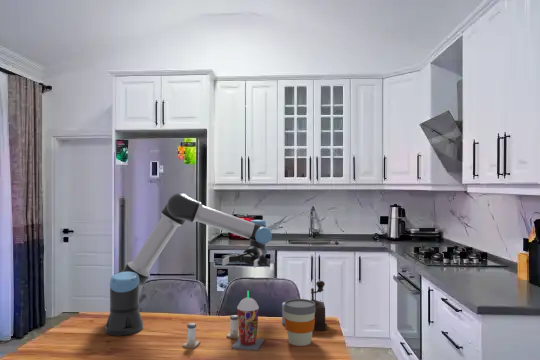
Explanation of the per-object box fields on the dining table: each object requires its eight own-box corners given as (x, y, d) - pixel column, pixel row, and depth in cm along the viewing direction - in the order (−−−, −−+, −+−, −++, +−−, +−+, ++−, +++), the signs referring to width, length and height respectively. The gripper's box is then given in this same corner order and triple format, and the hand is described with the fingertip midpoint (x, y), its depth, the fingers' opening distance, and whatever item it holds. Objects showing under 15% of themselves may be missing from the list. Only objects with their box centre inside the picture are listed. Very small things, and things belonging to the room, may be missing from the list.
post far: (226, 337, 164) (226, 317, 164) (230, 333, 169) (230, 313, 169) (238, 338, 163) (238, 318, 163) (241, 334, 168) (241, 314, 168)
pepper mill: (327, 330, 172) (327, 288, 172) (301, 330, 172) (301, 287, 173) (324, 319, 187) (324, 279, 188) (300, 318, 188) (300, 279, 188)
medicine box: (300, 321, 184) (300, 302, 184) (299, 324, 179) (299, 305, 179) (282, 320, 185) (282, 301, 185) (282, 324, 180) (282, 304, 180)
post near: (182, 347, 154) (182, 325, 154) (188, 342, 159) (188, 321, 159) (195, 348, 153) (195, 326, 153) (200, 343, 158) (200, 322, 158)
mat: (231, 348, 153) (231, 346, 153) (239, 338, 163) (239, 337, 163) (257, 350, 151) (257, 348, 151) (263, 340, 161) (263, 339, 161)
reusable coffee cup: (289, 349, 152) (289, 308, 152) (279, 337, 164) (279, 299, 165) (320, 345, 156) (320, 306, 156) (309, 334, 168) (308, 297, 168)
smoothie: (258, 347, 153) (258, 293, 153) (236, 346, 153) (236, 293, 153) (259, 338, 161) (259, 288, 161) (238, 338, 161) (238, 288, 161)
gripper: (278, 265, 186) (268, 274, 165) (226, 261, 191) (210, 270, 171) (278, 248, 186) (268, 255, 165) (226, 245, 191) (210, 252, 171)
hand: (238, 263), depth 168 cm, fingers open, 13 cm apart
